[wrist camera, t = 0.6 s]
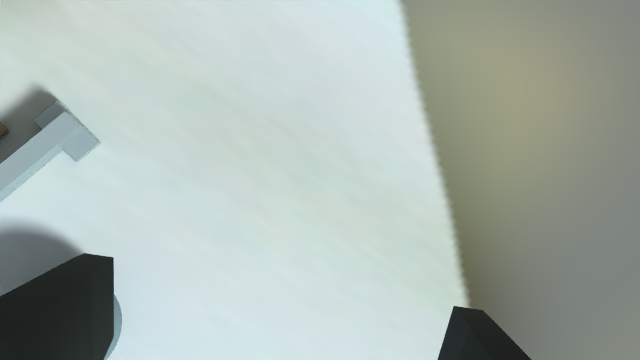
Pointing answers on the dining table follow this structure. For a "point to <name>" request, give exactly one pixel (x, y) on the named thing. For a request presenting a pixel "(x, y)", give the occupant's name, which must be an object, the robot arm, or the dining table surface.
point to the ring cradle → (2, 130)
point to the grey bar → (46, 147)
